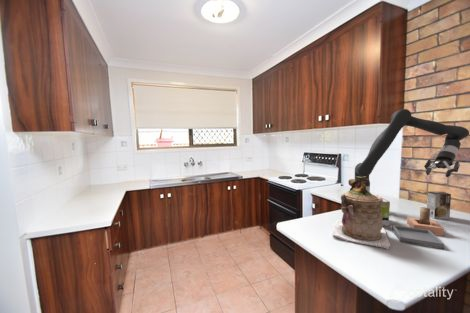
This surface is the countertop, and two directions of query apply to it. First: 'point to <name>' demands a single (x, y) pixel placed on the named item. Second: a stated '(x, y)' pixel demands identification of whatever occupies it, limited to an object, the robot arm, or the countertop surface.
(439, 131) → the robot arm
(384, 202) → the tea box
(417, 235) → the gray tray
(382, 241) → the cookie jar
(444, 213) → the coffee box
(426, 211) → the walnut dowel
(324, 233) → the countertop surface
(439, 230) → the salmon square ring
